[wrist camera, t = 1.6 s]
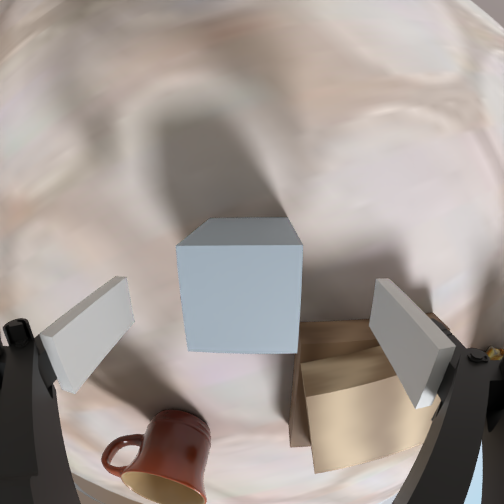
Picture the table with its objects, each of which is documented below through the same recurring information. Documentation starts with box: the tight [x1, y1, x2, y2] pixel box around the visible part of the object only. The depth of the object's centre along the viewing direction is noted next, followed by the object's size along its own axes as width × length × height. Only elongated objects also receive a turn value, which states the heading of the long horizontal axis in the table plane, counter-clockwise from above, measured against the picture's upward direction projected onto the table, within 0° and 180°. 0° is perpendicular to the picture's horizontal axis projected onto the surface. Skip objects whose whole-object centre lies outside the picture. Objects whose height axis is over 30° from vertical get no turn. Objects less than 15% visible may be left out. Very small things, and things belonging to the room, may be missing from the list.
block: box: [176, 217, 303, 354], centre depth 18 cm, size 6×6×9 cm
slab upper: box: [300, 346, 441, 474], centre depth 20 cm, size 12×12×4 cm
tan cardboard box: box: [289, 313, 450, 447], centre depth 24 cm, size 14×14×4 cm
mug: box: [101, 410, 211, 504], centre depth 24 cm, size 12×9×10 cm
